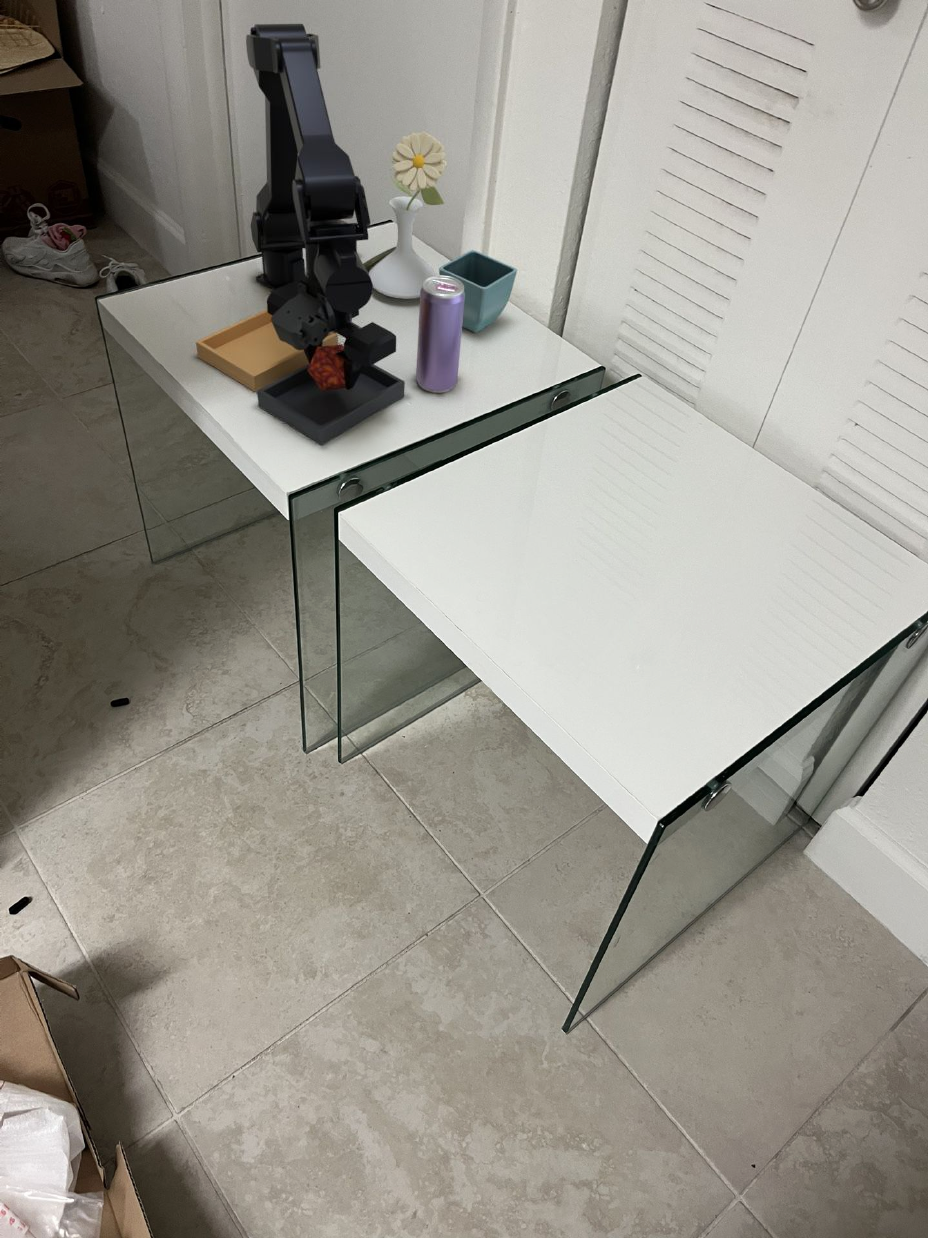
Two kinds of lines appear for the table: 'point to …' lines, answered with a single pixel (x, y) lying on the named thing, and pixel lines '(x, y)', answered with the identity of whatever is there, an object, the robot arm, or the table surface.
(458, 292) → the beverage can
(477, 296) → the flower pot
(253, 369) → the wood tray
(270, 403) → the stone tray
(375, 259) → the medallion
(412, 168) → the flower in vase
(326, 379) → the decorative stone
